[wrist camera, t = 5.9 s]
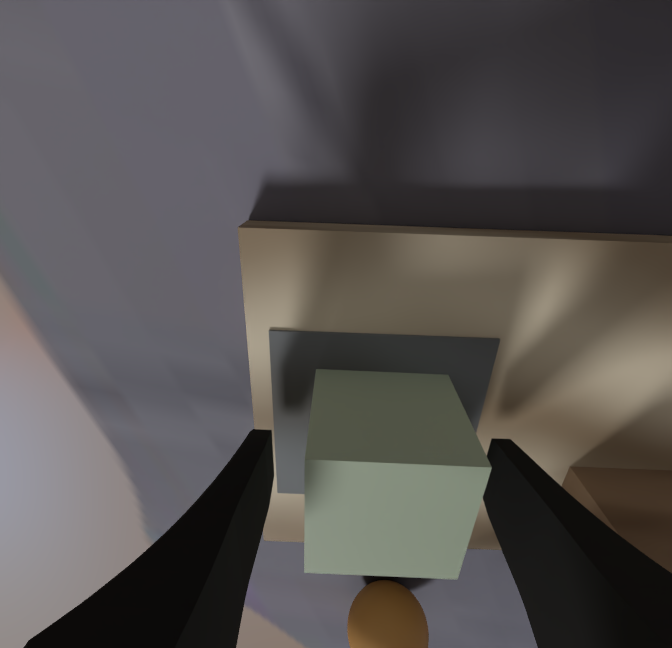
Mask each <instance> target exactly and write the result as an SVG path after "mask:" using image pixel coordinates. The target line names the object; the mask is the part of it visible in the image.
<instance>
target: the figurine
mask: <svg viewBox="0 0 672 648" xmlns="http://www.w3.org/2000/svg"><path fill="white" fill-rule="evenodd" d="M348 640H349V644H350V648H428V641H429V634H428V625H427V621H426V617H425V614H424V611H423V609H422V607H421V605H420V603H419V602H418V600H417V599H416V597H415V596H414V595H413V594H412V593H411V592H410V591H409V590H408V589H407V588H406V587H404V586H403V585H401V584H399V583H397V582H394V581H390V580H379V581H375V582H372V583H370V584H368V585H367V586H365V587H364V588H363V589H362V590H361V591H360V592H359V593H358V595H357V596H356V597H355V599H354V601H353V603H352V606H351V608H350V612H349V616H348Z"/></svg>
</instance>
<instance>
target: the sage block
mask: <svg viewBox="0 0 672 648" xmlns="http://www.w3.org/2000/svg"><path fill="white" fill-rule="evenodd" d="M491 469H492V467H491V465H490V462H489V460H488V458H487V456H486V454H485V452H484V450H483V448H482V445H481V443H480V441H479V439H478V437H477V435H476V433H475V431H474V428H473V426H472V424H471V422H470V420H469V418H468V416H467V414H466V411H465V409H464V407H463V405H462V403H461V401H460V399H459V397H458V394H457V392H456V390H455V388H454V386H453V384H452V382H451V380H450V377H449V375H443V374H420V373H397V372H374V371H351V370H328V369H316V374H315V381H314V389H313V397H312V405H311V413H310V421H309V429H308V437H307V444H306V452H305V507H304V573H322V574H344V575H367V576H390V577H413V578H436V579H458V576H459V573H460V569H461V566H462V563H463V560H464V556H465V553H466V550H467V547H468V543H469V540H470V537H471V534H472V531H473V527H474V524H475V521H476V518H477V514H478V511H479V508H480V505H481V501H482V498H483V495H484V492H485V488H486V485H487V482H488V479H489V475H490V472H491Z"/></svg>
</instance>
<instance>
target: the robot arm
mask: <svg viewBox="0 0 672 648" xmlns="http://www.w3.org/2000/svg"><path fill="white" fill-rule="evenodd" d="M487 458H488V460H489V462H490V465H491V467H492V469H491V472H490V475H489V479H488V482H487V485H486V488H485V492H484V495H483V501H484V504H485V507H486V511H487V514H488V517H489V519H490V522H491V525H492V527H493V529H494V532H495V534H496V537H497V539H498V542H499V544H500V547H501V549H502V551H503V554H504V556H505V559H506V561H507V563H508V566H509V568H510V571H511V573H512V575H513V578H514V580H515V583H516V585H517V587H518V590H519V592H520V595H521V598H522V600H523V603H524V606H525V609H526V612H527V615H528V618H529V621H530V624H531V627H532V630H533V634H534V637H535V640H536V643H537V646H538V648H672V573H671V572H669V571H668V570H666V569H665V568H663V567H662V566H661V565H659V564H658V563H656V562H655V561H654V560H652V559H651V558H649V557H648V556H646V555H645V554H644V553H642V552H641V551H640V550H638V549H637V548H636V547H634V546H633V545H632V544H630V543H629V542H628V541H626V540H625V539H624V538H622V537H621V536H620V535H618V534H617V533H616V532H615V531H613V530H612V529H611V528H610V527H608V526H607V525H606V524H605V523H603V522H602V521H601V520H600V519H599V518H597V517H596V516H595V515H594V514H593V513H591V512H590V511H589V510H588V509H587V508H585V507H584V506H583V505H582V504H581V503H580V502H578V501H577V500H576V499H575V498H574V497H573V496H572V495H570V494H569V493H568V492H567V491H566V490H565V489H564V488H563V487H562V486H560V485H559V484H558V483H557V482H556V481H555V480H554V479H553V478H552V477H551V476H550V475H548V474H547V473H546V472H545V471H544V470H543V469H542V468H541V467H540V466H539V465H538V464H537V463H536V462H535V461H534V460H533V459H531V458H530V457H529V456H528V455H527V454H526V453H525V452H524V451H523V450H522V449H521V448H520V447H519V446H518V445H517V444H515V443H514V442H513V441H512V440H511V439H497V438H492V439H491V442H490V446H489V449H488V453H487ZM273 480H274V462H273V444H272V430H261V429H253V430H252V431H250V433H249V434H248V436H247V437H246V439H245V440H244V442H243V443H242V444H241V446H240V447H239V449H238V450H237V451H236V453H235V454H234V455H233V457H232V458H231V460H230V461H229V462H228V463H227V465H226V466H225V467H224V469H223V470H222V471H221V472H220V474H219V475H218V476H217V477H216V479H215V480H214V481H213V482H212V483H211V485H210V486H209V487H208V488H207V489H206V490H205V492H204V493H203V494H202V495H201V496H200V497H199V498H198V499H197V501H196V502H195V503H194V504H193V505H192V506H191V507H190V508H189V509H188V510H187V512H186V513H185V514H184V515H183V516H182V517H181V518H180V519H179V520H178V521H177V522H176V523H175V524H174V525H173V526H172V527H171V528H170V529H169V530H168V531H167V532H166V533H165V534H164V535H163V536H161V537H160V538H159V539H158V540H157V541H156V542H155V543H154V544H153V545H152V546H151V547H149V548H148V549H147V550H146V551H145V552H144V553H143V554H142V555H141V556H139V557H138V558H137V559H136V560H135V561H134V562H132V563H131V564H130V565H129V566H128V567H127V568H125V569H124V570H123V571H122V572H120V573H119V574H118V575H117V576H115V577H114V578H113V579H112V580H110V581H109V582H108V583H107V584H105V585H104V586H103V587H102V588H100V589H99V590H98V591H97V592H95V593H94V594H93V595H92V596H90V597H89V598H88V599H86V600H85V601H84V602H82V603H81V604H80V605H78V606H77V607H75V608H74V609H73V610H71V611H70V612H68V613H67V614H66V615H64V616H63V617H61V618H60V619H59V620H57V621H56V622H54V623H53V624H52V625H50V626H49V627H47V628H46V629H45V630H43V631H42V632H40V633H39V634H37V635H36V636H34V637H33V638H32V639H30V640H29V641H28V642H27V644H26V645H25V647H24V648H236V645H237V639H238V634H239V628H240V623H241V617H242V612H243V607H244V601H245V596H246V592H247V588H248V584H249V579H250V576H251V572H252V568H253V565H254V561H255V557H256V554H257V550H258V546H259V543H260V539H261V535H262V532H263V528H264V524H265V521H266V517H267V513H268V509H269V505H270V499H271V493H272V487H273Z"/></svg>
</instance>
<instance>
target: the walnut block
mask: <svg viewBox="0 0 672 648" xmlns="http://www.w3.org/2000/svg"><path fill="white" fill-rule="evenodd" d="M562 487H563V488H564V489H565V490H566V491H567V492H568V493H569V494H570V495H572V496H573V497H574V498H575V499H576V500H577V501H578V502H580V503H581V504H582V505H583V506H584V507H585V508H587V509H588V510H589V511H590V512H591V513H593V514H594V515H595V516H596V517H597V518H599V519H600V520H601V521H602V522H603V523H605V524H606V525H607V526H608V527H610V528H611V529H612V530H613V531H615V532H616V533H617V534H618V535H620V536H621V537H622V538H624V539H625V540H626V541H628V542H629V543H630V544H632V545H633V546H634V547H636V548H637V549H638V550H640V551H641V552H642V553H644V554H645V555H646V556H648V557H649V558H651V559H652V560H654V561H655V562H656V563H658V564H659V565H661V566H662V567H663V568H665V569H666V570H668V571H669V572H671V573H672V470H647V469H621V468H595V467H569V469H568V472H567V474H566V476H565V479H564V481H563V483H562Z"/></svg>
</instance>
